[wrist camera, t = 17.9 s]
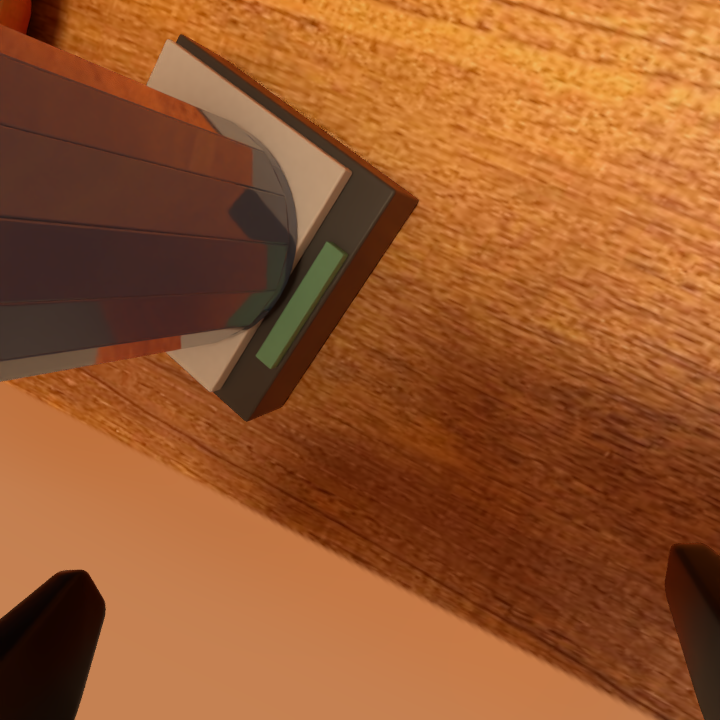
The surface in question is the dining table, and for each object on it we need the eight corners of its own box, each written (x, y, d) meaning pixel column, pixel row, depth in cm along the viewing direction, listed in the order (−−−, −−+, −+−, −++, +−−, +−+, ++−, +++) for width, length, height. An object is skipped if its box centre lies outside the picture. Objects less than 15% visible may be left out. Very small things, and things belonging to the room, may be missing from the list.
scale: (281, 408, 22) (235, 427, 19) (120, 267, 24) (58, 266, 21) (420, 200, 19) (390, 187, 16) (223, 57, 21) (166, 24, 18)
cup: (334, 284, 17) (-148, 301, 6) (168, 373, 20) (-374, 498, 9) (239, 72, 17) (-396, -290, 6) (88, 189, 20) (-541, 84, 9)
